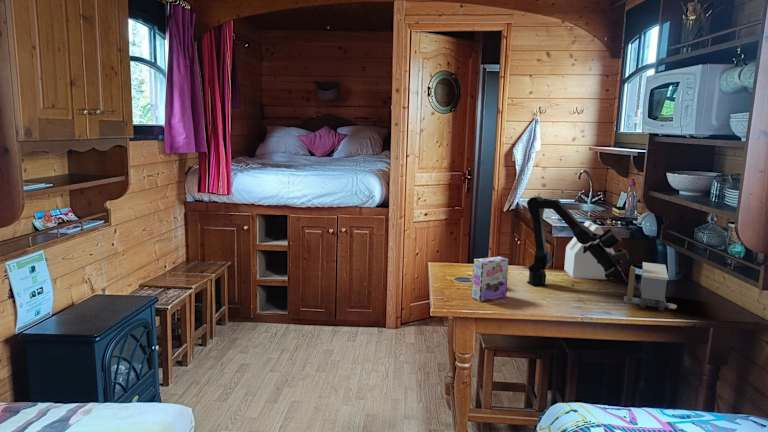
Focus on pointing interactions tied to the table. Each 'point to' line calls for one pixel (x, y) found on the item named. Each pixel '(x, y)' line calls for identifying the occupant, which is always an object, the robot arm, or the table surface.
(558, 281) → the table surface
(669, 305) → the steel token
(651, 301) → the sweeper
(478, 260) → the candy box
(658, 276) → the cabinet
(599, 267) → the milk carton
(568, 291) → the table surface
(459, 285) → the table surface
